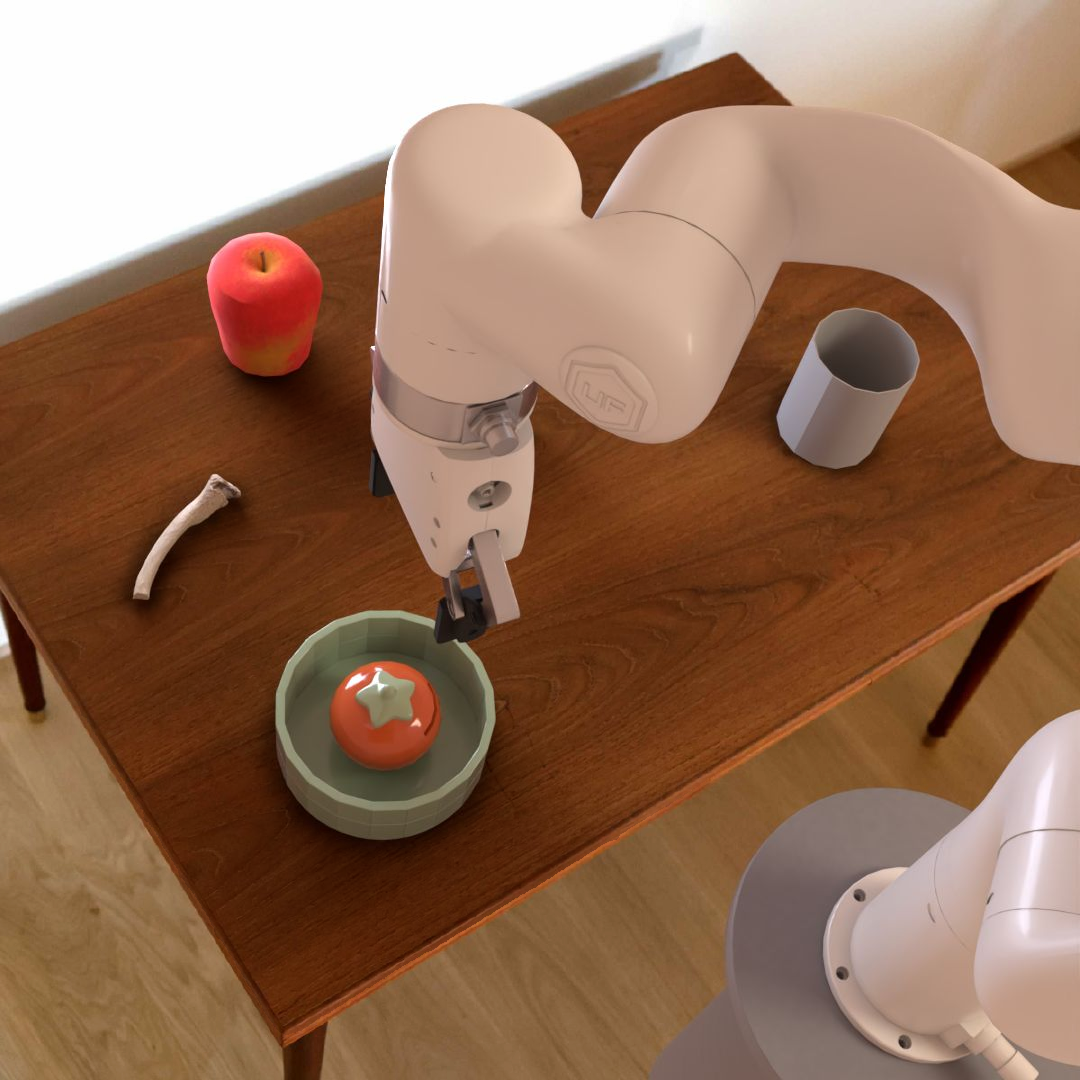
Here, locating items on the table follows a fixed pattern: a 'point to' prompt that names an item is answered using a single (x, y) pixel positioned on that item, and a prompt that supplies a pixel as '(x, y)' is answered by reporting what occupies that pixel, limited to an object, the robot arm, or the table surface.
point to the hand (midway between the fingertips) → (428, 557)
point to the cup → (847, 387)
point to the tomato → (385, 716)
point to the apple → (264, 302)
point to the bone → (183, 529)
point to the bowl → (367, 795)
